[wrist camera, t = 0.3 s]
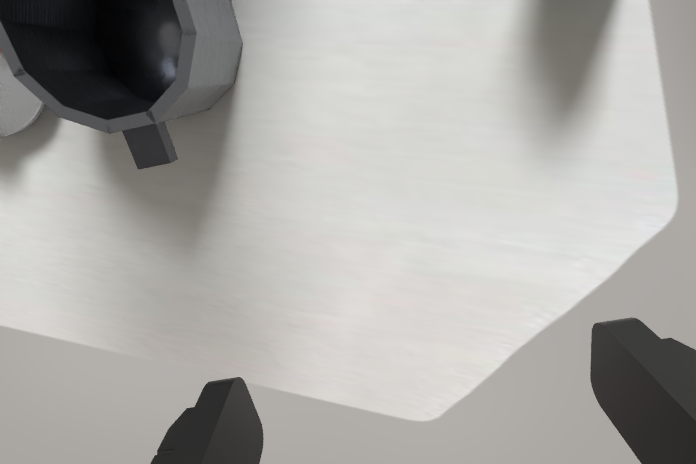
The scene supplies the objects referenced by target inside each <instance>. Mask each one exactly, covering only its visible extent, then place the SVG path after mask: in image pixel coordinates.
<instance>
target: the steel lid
mask: <svg viewBox="0 0 696 464" xmlns="http://www.w3.org/2000/svg"><path fill="white" fill-rule="evenodd" d="M44 106H45V104H44V103H43V102H42V101H41V100H39V99H38V98H37V97H36V96H35V95H34V94H33V93H32V92H31V91H29V90H28V89H27V88H26V87H25V86H24V85H23V84H22V83H21V82H19V81H18V80H17V79H16V78H15V77H14V76H13V74H12V72H11V70H10V68H9V65H8V63H7V61H6V59H5V57H4V55H3V53H2V51H1V49H0V137H3V136H8V135H12V134H15V133H18V132H20V131H22V130H24V129H26V128H27V127H28V126H30V125H31V124H32V123H33V122H34V121H35V120H36V119H37V118H38V117H39V115H40V113H41V112H42V110H43V108H44Z"/></svg>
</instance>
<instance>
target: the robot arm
mask: <svg viewBox="0 0 696 464" xmlns="http://www.w3.org/2000/svg"><path fill="white" fill-rule="evenodd" d="M591 383H592V388H593V391H594V394H595V396H596V399H597V401H598V403H599V404H600V406H601V408H602V409H603V411H604V412H605V413H606V415H607V416H608V417H609V419H610V420H611V422H612V423H613V424H614V426H615V427H616V428H617V430H618V431H619V433H620V434H621V436H622V437H623V438H624V440H625V441H626V443H627V444H628V445H629V447H630V448H631V449H632V451H633V452H634V453H635V455H636V456H637V458H638V459H639V460H640V462H641V463H642V464H696V350H694V349H692V348H690V347H688V346H686V345H684V344H682V343H680V342H678V341H676V340H674V339H672V338H667V339H660V338H659V337H658V336H657V335H656V334H655V333H654V332H652V331H651V330H650V329H649V328H648V327H647V326H646V325H645V324H644V323H642V322H641V321H640V320H638V319H637V318H626V319H619V320H613V321H607V322H600V323H595V324H594V326H593V328H592V344H591ZM262 449H263V429H262V424H261V421H260V419H259V416H258V414H257V411H256V409H255V406H254V404H253V401H252V399H251V396H250V394H249V391H248V389H247V386H246V384H245V382H244V380H243V379H242V378H240V377H237V378H230V379H224V380H217V381H212V382H208V383H207V384H206V385H205V387H204V388H203V390H202V392H201V395H200V397H199V399H198V401H197V403H196V405H195V407H193V408H187V409H186V410H185V411H184V412H183V414H182V415H181V416H180V417H179V418H178V419H177V420H176V421H175V422H174V424H173V425H172V426H171V427H170V428H169V429H168V431H167V433H166V435H165V437H164V439H163V441H162V443H161V445H160V447H159V448H158V450H157V452H158V453H157V455H155V456H154V458H153V460H152V462H151V464H259V462H260V458H261V454H262Z"/></svg>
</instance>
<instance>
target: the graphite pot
mask: <svg viewBox="0 0 696 464" xmlns="http://www.w3.org/2000/svg"><path fill="white" fill-rule="evenodd" d="M242 44H243V43H242V39H241V36H240V32H239V29H238V25H237V21H236V18H235V14H234V10H233V7H232V3H231V0H0V49H1V51H2V53H3V55H4V57H5V59H6V61H7V63H8V65H9V68H10V70H11V72H12V74H13V76H14V77H15V78H16V79H17V80H18V81H19V82H21V83H22V84H23V85H24V86H25V87H26V88H27V89H28V90H29V91H31V92H32V93H33V94H34V95H35V96H36V97H37V98H38V99H39V100H41V101H42V102H43V103H44V104H45V105H46V106H47V107H48V108H49V109H51V110H52V111H53V112H54V113H55V114H56V115H57V116H58V117H60V118H63V119H67V120H70V121H73V122H76V123H79V124H82V125H85V126H88V127H91V128H94V129H97V130H101V131H104V132H107V133H110V134H111V133H114V132H118V131H123V134H124V136H125V139H126V141H127V143H128V146H129V148H130V151H131V153H132V156H133V158H134V160H135V163H136V165H137V168H138V169H143V168H148V167H153V166H157V165H162V164H167V163H171V162H173V161H175V160H177V159H178V158H177V155H176V152H175V150H174V147H173V144H172V141H171V139H170V136H169V133H168V131H167V128H166V125H165V122H164V121H168V120H171V119H175V118H179V117H182V116H186V115H190V114H194V113H197V112H201V111H205V110H208V109H210V108H211V107H212V106H213V105H214V104H215V103H216V102H217V101H218V100H219V99H220V98H221V97H222V95H223V94H224V93H225V92H226V91H227V90H228V89H229V88H230V87H231V86H232V85H233V84H234V83H235V78H236V73H237V68H238V63H239V58H240V53H241V49H242Z"/></svg>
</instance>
